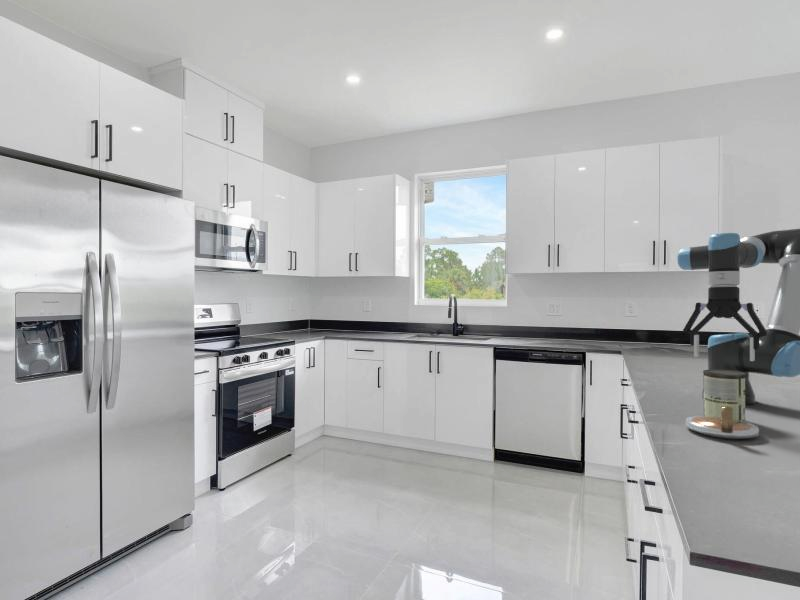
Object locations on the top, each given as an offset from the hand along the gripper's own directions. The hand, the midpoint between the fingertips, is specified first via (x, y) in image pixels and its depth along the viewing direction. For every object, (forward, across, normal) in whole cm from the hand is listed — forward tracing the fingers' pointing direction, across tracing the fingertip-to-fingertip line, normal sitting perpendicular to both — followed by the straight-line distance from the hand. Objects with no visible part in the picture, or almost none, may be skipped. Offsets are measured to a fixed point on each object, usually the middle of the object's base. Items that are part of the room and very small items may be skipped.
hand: (723, 358), depth 136 cm
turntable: (+17, +2, -16) cm, 24 cm away
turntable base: (+18, +2, -16) cm, 24 cm away
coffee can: (+18, 0, 0) cm, 18 cm away
